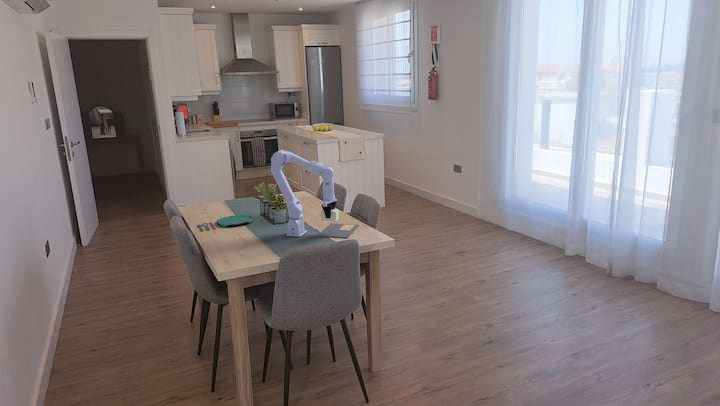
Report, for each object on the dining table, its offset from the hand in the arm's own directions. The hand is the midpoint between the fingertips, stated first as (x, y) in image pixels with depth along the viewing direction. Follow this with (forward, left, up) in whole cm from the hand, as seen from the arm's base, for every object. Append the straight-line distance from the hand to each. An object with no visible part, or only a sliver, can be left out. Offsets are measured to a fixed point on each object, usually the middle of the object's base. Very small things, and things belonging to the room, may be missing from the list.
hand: (329, 216), depth 254 cm
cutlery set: (+6, +64, -10) cm, 65 cm away
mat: (+5, -3, -9) cm, 11 cm away
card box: (0, 0, -2) cm, 2 cm away
